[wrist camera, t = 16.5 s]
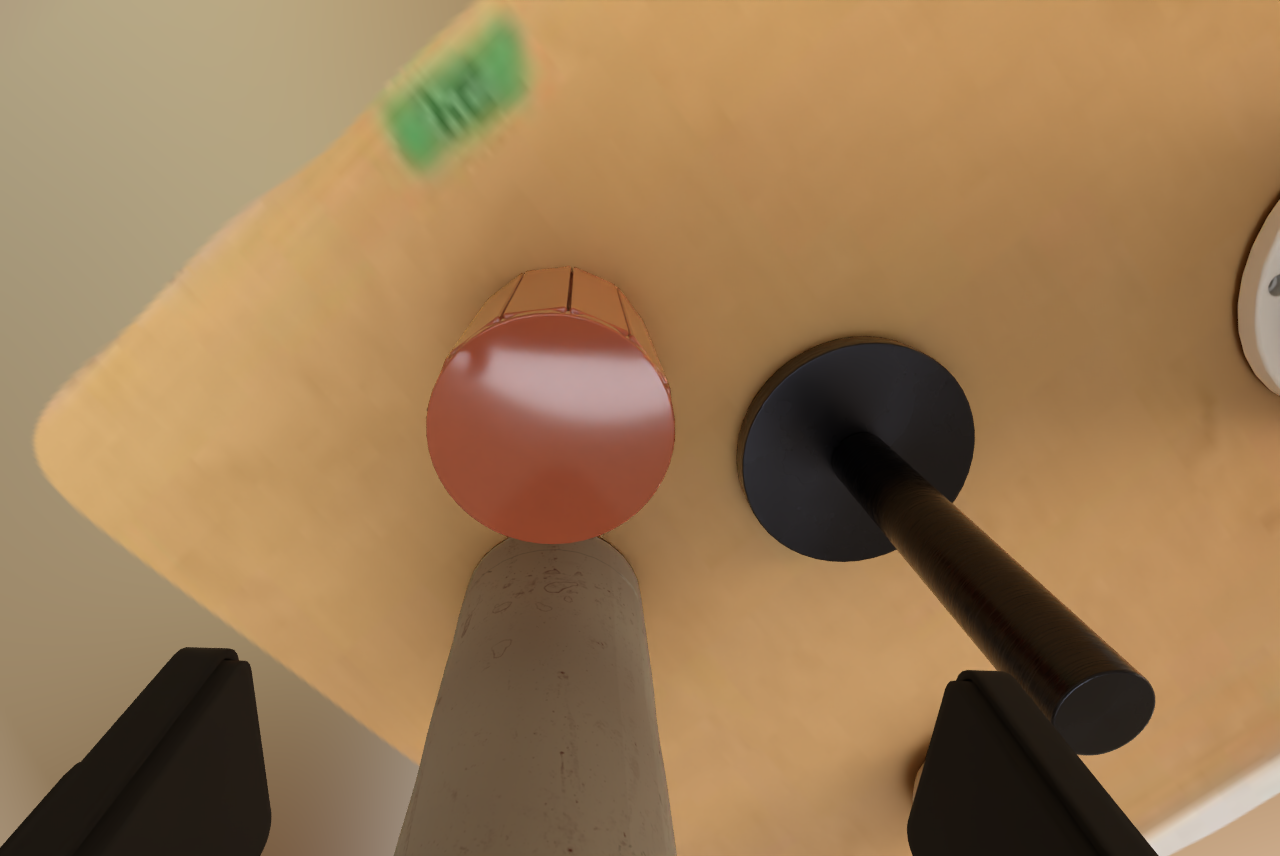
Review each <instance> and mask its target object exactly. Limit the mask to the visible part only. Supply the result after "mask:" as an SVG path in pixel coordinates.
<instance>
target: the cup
mask: <svg viewBox="0 0 1280 856" xmlns="http://www.w3.org/2000/svg"><path fill="white" fill-rule="evenodd" d="M426 436H427V442H428V449H429V453H430V456H431V460H432V463H433V466H434V468H435V470H436V473H437V475H438V477H439V479H440V481H441V482H442V484H443V485H444V487H445V489H446V490H447V492H448V493H449V494H450V496H451V497H452V498H453V499H454V500H455V502H456V503H457V504H458V505H459V506H460V507H461V508H462V509H463V510H464V511H465V512H467V513H468V514H469V515H470V516H471V517H473V518H474V519H475V520H477V521H478V522H480V523H481V524H483V525H485V526H486V527H488V528H490V529H492V530H493V531H495V532H498V533H500V534H503V535H505V536H508V537H511V538H514V539H518V540H521V541H526V542H532V543H538V544H565V543H573V542H578V541H584V540H587V539H590V538H593V537H597V536H600V535H602V534H604V533H606V532H608V531H611V530H613V529H614V528H616V527H618V526H619V525H621V524H623V523H625V522H626V521H627V520H629V519H630V518H631V517H632V516H634V515H635V514H636V513H637V512H638V511H639V510H640V509H641V508H642V507H643V506H644V505H645V504H646V503H647V502H648V501H649V500H650V498H651V497H652V496H653V495H654V493H655V492H656V491H657V489H658V487H659V486H660V484H661V482H662V480H663V479H664V477H665V474H666V472H667V469H668V467H669V464H670V461H671V457H672V453H673V449H674V442H675V418H674V412H673V406H672V401H671V390H670V386H669V384H668V381H667V378H666V376H665V373H664V371H663V369H662V366H661V364H660V361H659V359H658V356H657V354H656V351H655V349H654V346H653V344H652V341H651V339H650V336H649V334H648V331H647V329H646V327H645V324H644V322H643V320H642V319H641V317H640V316H639V314H638V313H637V312H636V310H635V309H634V308H633V306H632V305H631V304H630V302H629V301H628V299H627V298H626V297H625V295H624V294H623V293H622V291H621V290H620V289H619V288H616V286H615V284H613V283H611V282H608V281H606V280H604V279H602V278H599V277H597V276H595V275H592V274H590V273H588V272H586V271H583V270H581V269H579V268H577V267H574V268H573V271H571V267H570V266H566V267H557V268H548V269H540V270H531V271H526V273H525V275H524V274H523V273H521V274H520V275H518V276H517V277H516V278H514V279H513V280H512V281H511V282H509V283H508V284H507V285H505V286H504V287H503V288H501V289H500V290H499V291H498V292H496V293H495V294H494V295H492V296H491V297H490V298H488V300H487V301H486V303H485V304H484V305H483V307H482V308H481V309H480V311H479V312H478V314H477V315H476V316H475V318H474V319H473V321H472V322H471V324H470V325H469V326H468V328H467V329H466V331H465V332H464V333H463V335H462V336H461V338H460V339H459V340H458V342H457V343H456V345H455V346H454V347H453V349H452V350H451V352H450V353H449V354H448V356H447V357H446V359H445V362H444V364H443V367H442V370H441V373H440V375H439V377H438V379H437V381H436V383H435V385H434V388H433V390H432V394H431V397H430V401H429V404H428V408H427V416H426Z"/></svg>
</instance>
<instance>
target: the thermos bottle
mask: <svg viewBox="0 0 1280 856" xmlns="http://www.w3.org/2000/svg"><path fill="white" fill-rule="evenodd" d="M394 856H677V854H676V846H675V839H674V832H673V825H672V817H671V810H670V803H669V796H668V789H667V782H666V775H665V769H664V763H663V758H662V752H661V746H660V740H659V733H658V726H657V718H656V708H655V698H654V688H653V680H652V672H651V665H650V658H649V651H648V643H647V636H646V629H645V622H644V614H643V607H642V600H641V594H640V589H639V585H638V580H637V578H636V576H635V574H634V572H633V570H632V568H631V566H630V565H629V563H628V562H627V561H626V560H625V558H624V557H623V556H622V554H620V553H619V552H618V551H617V550H616V549H615V548H613V547H612V546H611V545H610V544H609V543H607V542H605V541H603V540H601V539H600V538H598V537H593V538H590V539H587V540H584V541H578V542H573V543H565V544H538V543H532V542H526V541H521V540H518V539H514V538H511V537H510V538H508V539H506V540H505V541H503V542H502V543H500V544H499V545H497V546H495V547H494V548H493V549H492V550H491V551H490V552H489V553H488V554H487V555H486V556H485V557H484V558H483V559H482V560H481V561H480V563H479V564H478V566H477V567H476V569H475V570H474V572H473V574H472V576H471V579H470V582H469V584H468V587H467V590H466V594H465V597H464V600H463V604H462V607H461V611H460V614H459V618H458V622H457V627H456V631H455V635H454V640H453V643H452V647H451V650H450V653H449V657H448V660H447V664H446V667H445V670H444V674H443V678H442V681H441V685H440V689H439V692H438V696H437V700H436V703H435V707H434V711H433V714H432V718H431V722H430V726H429V729H428V733H427V737H426V742H425V746H424V750H423V754H422V759H421V763H420V767H419V771H418V775H417V779H416V782H415V786H414V789H413V793H412V796H411V800H410V803H409V806H408V810H407V813H406V816H405V819H404V823H403V826H402V829H401V833H400V836H399V839H398V843H397V846H396V850H395V853H394Z"/></svg>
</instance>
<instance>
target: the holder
mask: <svg viewBox="0 0 1280 856" xmlns="http://www.w3.org/2000/svg"><path fill="white" fill-rule="evenodd" d="M974 442H975V430H974V423H973V416H972V412H971V409H970V406H969V402H968V400H967V398H966V396H965V394H964V392H963V390H962V388H961V387H960V385H959V384H958V382H957V381H956V379H955V378H954V377H953V376H952V375H951V374H950V373H949V372H948V370H947V369H946V368H945V367H943V366H942V365H941V364H939V363H938V362H937V361H936V360H934V359H933V358H931V357H929V356H927V355H925V354H924V353H922V352H920V351H918V350H916V349H915V348H913V347H911V346H909V345H906V344H904V343H901V342H898V341H895V340H891V339H886V338H882V337H870V336H860V337H848V338H842V339H837V340H833V341H830V342H827V343H823V344H820V345H818V346H816V347H814V348H811V349H809V350H807V351H805V352H803V353H802V354H800V355H798V356H797V357H795V358H793V359H792V360H790V361H789V362H788V363H787V364H785V365H784V366H783V367H781V368H780V369H779V370H778V371H777V372H776V373H775V374H774V375H773V376H772V377H771V378H770V379H769V380H768V381H767V382H766V383H765V385H764V386H763V387H762V388H761V390H760V391H759V392H758V394H757V395H756V397H755V398H754V400H753V402H752V403H751V405H750V407H749V409H748V411H747V414H746V416H745V418H744V420H743V424H742V427H741V430H740V434H739V440H738V446H737V468H738V476H739V480H740V483H741V487H742V490H743V492H744V494H745V497H746V499H747V501H748V503H749V505H750V507H751V509H752V511H753V513H754V515H755V516H756V518H757V519H758V521H759V522H760V524H761V525H762V526H763V527H764V528H765V530H766V531H767V532H768V533H769V534H770V535H771V536H773V537H774V538H775V539H776V540H777V541H778V542H780V543H781V544H783V545H784V546H786V547H788V548H789V549H791V550H793V551H795V552H798V553H800V554H802V555H805V556H808V557H812V558H815V559H820V560H826V561H837V562H848V561H860V560H865V559H870V558H874V557H878V556H881V555H884V554H887V553H890V552H892V551H894V550H898V551H899V552H900V554H901V555H902V556H903V557H904V559H905V560H906V561H907V562H908V563H909V565H910V566H911V567H912V568H913V569H914V571H915V572H916V573H917V574H918V575H919V577H920V578H921V579H922V580H923V581H924V583H925V584H926V585H927V586H928V588H929V589H930V590H931V591H932V592H933V594H934V595H935V596H936V597H937V598H938V600H939V601H940V602H941V603H942V604H943V606H944V607H945V608H946V609H947V610H948V612H949V613H950V614H951V615H952V617H953V618H954V619H955V620H956V621H957V623H958V624H959V625H960V626H961V627H962V629H963V630H964V631H965V632H966V633H967V635H968V636H969V637H970V638H971V640H972V641H973V642H974V643H975V644H976V646H977V647H978V648H979V649H980V650H981V652H982V653H983V654H984V655H985V656H986V658H987V659H988V660H989V661H990V662H991V664H992V665H993V666H994V667H995V669H996V670H997V671H1004V672H1007V673H1009V674H1011V675H1012V676H1013V677H1014V678H1015V679H1016V680H1017V682H1018V683H1019V684H1020V685H1021V686H1022V688H1023V689H1024V690H1025V691H1026V693H1027V694H1028V695H1029V696H1030V698H1031V699H1032V700H1033V701H1034V703H1035V704H1036V705H1037V706H1038V707H1039V709H1040V710H1041V711H1042V712H1043V714H1044V715H1045V716H1046V717H1047V719H1048V720H1049V721H1050V722H1051V724H1052V725H1053V726H1054V727H1055V728H1056V730H1057V731H1058V732H1059V733H1060V735H1061V736H1062V737H1063V738H1064V740H1065V741H1066V742H1067V743H1068V745H1069V746H1070V747H1071V748H1072V749H1073V751H1074V752H1075V753H1076V754H1078V755H1098V754H1104V753H1107V752H1110V751H1113V750H1115V749H1118V748H1120V747H1122V746H1123V745H1125V744H1127V743H1128V742H1130V741H1131V740H1132V739H1134V738H1135V737H1136V736H1137V735H1138V734H1139V733H1140V732H1141V731H1142V730H1143V729H1144V728H1145V726H1146V725H1147V724H1148V722H1149V720H1150V719H1151V716H1152V714H1153V711H1154V708H1155V694H1154V691H1153V688H1152V686H1151V684H1150V683H1149V681H1148V680H1147V679H1146V678H1145V677H1143V676H1142V675H1141V674H1140V673H1139V672H1138V671H1137V670H1136V669H1135V668H1134V667H1132V666H1131V665H1130V664H1129V663H1128V662H1127V661H1126V660H1125V659H1124V658H1122V657H1121V656H1120V655H1119V654H1118V653H1117V652H1116V651H1115V650H1114V649H1113V648H1111V647H1110V646H1109V645H1108V644H1107V643H1106V642H1105V641H1104V640H1103V639H1101V638H1100V637H1099V636H1098V635H1097V634H1096V633H1095V632H1094V631H1093V630H1092V629H1090V628H1089V627H1088V626H1087V625H1086V624H1085V623H1084V622H1083V621H1082V620H1080V619H1079V618H1078V617H1077V616H1076V615H1075V614H1074V613H1073V612H1072V611H1071V610H1069V609H1068V608H1067V607H1066V606H1065V605H1064V604H1063V603H1062V602H1061V601H1059V600H1058V599H1057V598H1056V597H1055V596H1054V595H1053V594H1052V593H1051V592H1050V591H1048V590H1047V589H1046V588H1045V587H1044V586H1043V585H1042V584H1041V583H1040V582H1038V581H1037V580H1036V579H1035V578H1034V577H1033V576H1032V575H1031V574H1030V573H1029V572H1027V571H1026V570H1025V569H1024V568H1023V567H1022V566H1021V565H1020V564H1019V563H1017V562H1016V561H1015V560H1014V559H1013V558H1012V557H1011V556H1010V555H1009V554H1008V553H1006V552H1005V551H1004V550H1003V549H1002V548H1001V547H1000V546H999V545H998V544H996V543H995V542H994V541H993V540H992V539H991V538H990V537H989V536H988V535H987V534H985V533H984V532H983V531H982V530H981V529H980V528H979V527H978V526H977V525H975V524H974V523H973V522H972V521H971V520H970V519H969V518H968V517H967V516H966V515H964V514H963V513H962V512H961V511H960V510H959V509H958V508H957V507H956V506H954V505H953V504H952V503H953V502H954V500H955V499H956V497H957V496H958V494H959V492H960V490H961V489H962V487H963V485H964V482H965V480H966V477H967V475H968V473H969V469H970V466H971V462H972V458H973V451H974Z"/></svg>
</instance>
